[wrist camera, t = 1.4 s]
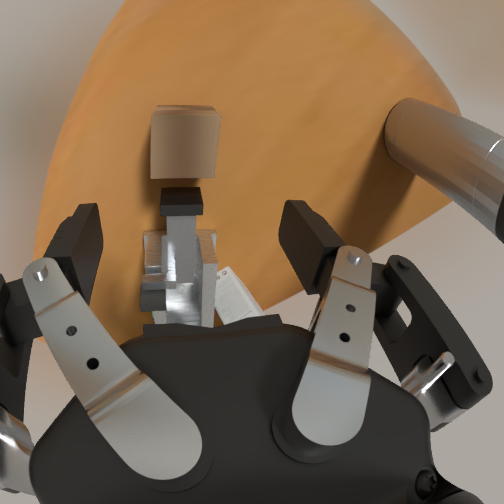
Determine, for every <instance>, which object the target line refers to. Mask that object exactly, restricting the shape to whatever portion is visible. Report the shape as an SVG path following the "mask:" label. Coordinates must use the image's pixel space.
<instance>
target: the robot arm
mask: <svg viewBox="0 0 504 504" xmlns="http://www.w3.org/2000/svg"><path fill="white" fill-rule="evenodd" d="M384 139H385V145H386V148H387V151H388V153H389V155H390V156H391V157H392V158H393V159H394V160H395V161H396V162H398V163H399V164H401V165H403V166H404V167H406V168H407V169H409V170H410V171H412V172H413V173H415V174H416V175H418V176H419V177H421V178H422V179H424V180H425V181H427V182H428V183H429V184H431V185H432V186H434V187H435V188H437V189H438V190H439V191H441V192H442V193H443V194H445V195H446V196H448V197H449V198H450V199H452V200H453V201H454V202H455V203H457V204H458V205H459V206H461V207H462V208H463V209H465V210H466V211H467V212H468V213H469V214H471V215H472V216H473V217H474V218H475V219H477V220H478V221H479V222H480V223H481V224H483V225H484V226H485V227H486V228H487V229H488V230H489V231H491V232H492V233H493V234H494V235H495V236H496V237H497V238H498V239H499V240H500V241H502V243H503V244H504V137H503V136H501V135H499V134H497V133H495V132H493V131H492V130H489V129H488V128H485V127H484V126H482V125H479V124H477V123H475V122H473V121H471V120H469V119H466V118H464V117H462V116H459V115H457V114H455V113H452V112H450V111H447V110H445V109H442V108H440V107H437V106H434V105H432V104H429V103H426V102H423V101H420V100H417V99H412V98H411V99H405V100H403V101H401V102H399V103H398V104H397V105H396V106H395V107H394V108H393V109H392V111H391V113H390V114H389V116H388V119H387V122H386V126H385V135H384ZM278 236H279V242H280V245H281V247H282V248H283V250H284V252H285V254H286V256H287V258H288V259H289V261H290V263H291V265H292V267H293V269H294V270H295V272H296V274H297V276H298V278H299V280H300V282H301V283H302V285H303V287H304V289H305V291H306V292H307V295H312V294H319V295H320V298H319V300H318V302H317V305H316V308H315V311H314V314H313V317H312V320H311V323H310V326H309V328H308V330H306V329H304V328H301V327H298V326H294V325H289V324H283V323H282V321H281V318H280V316H279V314H274V315H265V316H256V317H247V318H244V319H241V320H238V321H235V322H232V323H229V324H225V325H222V326H219V327H214V328H211V327H203V326H195V325H188V324H181V323H168V324H145V325H143V335H141V336H138V337H135V338H133V339H130V340H128V341H126V342H124V343H123V344H121V345H120V346H118V345H117V344H116V342H115V341H114V340H113V339H112V337H111V336H110V335H109V334H108V332H107V331H106V330H105V328H104V327H103V326H102V324H101V323H100V322H99V320H98V319H97V318H96V316H95V315H94V314H93V312H92V311H91V309H90V308H89V303H90V298H91V294H92V290H93V285H94V281H95V277H96V273H97V269H98V265H99V262H100V258H101V254H102V251H103V234H102V228H101V222H100V216H99V210H98V205H97V204H96V203H88V204H79V206H78V207H77V209H76V211H75V213H74V214H73V216H72V217H68V218H67V219H65V220H64V221H63V222H62V223H61V224H60V226H59V227H58V229H57V231H56V233H55V235H54V237H53V239H52V240H51V242H50V244H49V246H48V248H47V250H46V252H45V254H44V256H43V258H40V259H37V260H35V261H33V262H32V263H30V264H29V265H28V266H27V267H26V269H25V270H24V272H23V275H22V278H21V279H18V280H15V281H12V282H8V283H6V282H5V280H4V278H3V276H2V274H0V489H1V490H4V491H7V492H11V493H19V492H23V493H26V494H30V495H34V496H36V497H37V499H38V501H39V502H40V504H484V503H483V502H482V501H481V500H480V499H479V498H478V497H477V496H475V495H474V494H472V493H469V492H467V491H465V490H462V489H460V488H458V487H456V486H455V485H453V484H451V483H450V482H448V481H447V480H445V479H444V478H443V477H442V476H441V475H440V474H439V473H438V471H437V470H436V468H435V465H434V462H433V457H432V451H431V442H430V432H435V431H438V430H439V429H441V428H442V427H444V426H445V425H447V424H448V423H450V422H452V421H453V420H454V419H456V418H457V417H459V416H460V415H461V414H463V413H464V412H466V411H467V410H468V409H470V408H471V407H473V406H474V405H475V404H476V403H478V402H479V401H480V400H481V399H483V398H484V397H485V396H487V395H488V394H489V393H490V392H491V390H492V386H493V382H492V377H491V374H490V372H489V370H488V368H487V366H486V365H485V363H484V361H483V360H482V358H481V356H480V355H479V353H478V352H477V350H476V348H475V347H474V345H473V344H472V342H471V341H470V339H469V337H468V336H467V334H466V333H465V331H464V330H463V328H462V327H461V326H460V324H459V323H458V321H457V320H456V318H455V317H454V315H453V314H452V313H451V311H450V310H449V309H448V307H447V306H446V304H445V303H444V302H443V300H442V299H441V298H440V296H439V295H438V294H437V293H436V291H435V290H434V289H433V287H432V286H431V285H430V283H429V282H428V281H427V280H426V279H425V277H424V276H423V275H422V273H421V272H420V271H419V270H418V269H417V268H416V266H415V265H414V264H413V263H412V262H411V261H410V260H408V259H407V258H405V257H402V256H399V255H392V256H390V257H389V259H388V261H387V263H386V265H384V264H379V263H373V262H372V259H371V258H370V256H369V255H368V254H367V253H366V252H365V251H363V250H361V249H359V248H357V247H354V246H347V245H346V244H345V243H344V242H343V240H342V239H341V238H340V237H339V236H338V234H337V233H336V232H335V231H333V228H332V227H331V226H330V225H329V224H328V222H327V221H326V220H325V219H324V218H323V217H322V216H320V215H319V214H317V213H316V212H314V211H313V210H312V209H311V208H310V207H309V206H308V204H307V203H306V202H305V201H303V200H287V201H286V202H285V205H284V209H283V214H282V218H281V223H280V227H279V234H278ZM402 300H403V301H404V303H405V304H406V306H407V307H408V308H409V310H410V312H411V315H412V320H411V324H410V325H409V326H408V327H407V326H406V324H405V323H404V321H403V320H402V318H401V316H400V315H399V313H398V312H397V310H396V309H397V308H398V306H399V304H400V303H401V301H402ZM373 331H374V333H375V335H376V336H377V338H378V340H379V342H380V344H381V346H382V348H383V349H384V351H385V353H386V355H387V357H388V359H389V361H390V363H391V365H392V367H393V368H394V371H395V372H396V374H397V376H398V379H399V381H400V383H401V387H400V386H398V385H396V384H395V383H393V382H391V381H390V380H388V379H386V378H385V377H383V376H381V375H380V374H378V373H376V372H375V371H373V370H372V369H370V368H368V364H369V357H370V350H371V343H372V334H373ZM41 336H44V338H45V340H46V342H47V344H48V346H49V348H50V350H51V352H52V354H53V356H54V358H55V360H56V362H57V364H58V366H59V367H60V369H61V371H62V372H63V374H64V376H65V378H66V380H67V381H68V383H69V385H70V386H71V388H72V389H73V391H74V393H75V396H74V397H73V398H72V399H71V401H70V402H69V403H68V404H67V405H66V407H65V408H64V409H63V410H62V412H61V413H60V414H59V415H58V417H57V418H56V419H55V420H54V422H53V423H52V424H51V425H50V427H49V428H48V429H47V430H46V432H45V433H44V434H43V436H42V437H41V438H40V439H39V441H38V442H37V443H36V445H35V447H34V444H33V443H32V441H31V436H30V433H29V430H28V429H27V427H26V426H25V425H24V424H23V418H24V401H25V389H26V381H27V373H28V366H29V360H30V353H31V347H32V343H33V339H34V338H37V337H41Z"/></svg>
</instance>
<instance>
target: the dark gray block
mask: <svg viewBox="0 0 504 504" xmlns="http://www.w3.org/2000/svg"><path fill="white" fill-rule="evenodd" d="M140 309H141V312H145V311H167V308H166V289H162V290H143V287H142V285H141V290H140Z"/></svg>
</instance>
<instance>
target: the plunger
mask: <svg viewBox="0 0 504 504" xmlns="http://www.w3.org/2000/svg"><path fill="white" fill-rule="evenodd" d="M196 215H203V200H202V195H201V191H200V187H169V188H162V190H161V201H160V216H167V246H168V273H158V274H142V287H143V290H162V289H176V284H182V283H194V270H195V228H196Z"/></svg>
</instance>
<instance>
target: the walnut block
mask: <svg viewBox="0 0 504 504" xmlns="http://www.w3.org/2000/svg"><path fill="white" fill-rule="evenodd" d="M220 122H221V115H220V114H219V113H218V112H217V111H216V110H215V109H214V108H213V107H212V106H194V105H158V106H157V107H156V109H155V110H154V112H153V114H152V118H151V179H161V178H215V169H216V159H217V149H218V139H219V130H220Z"/></svg>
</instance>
